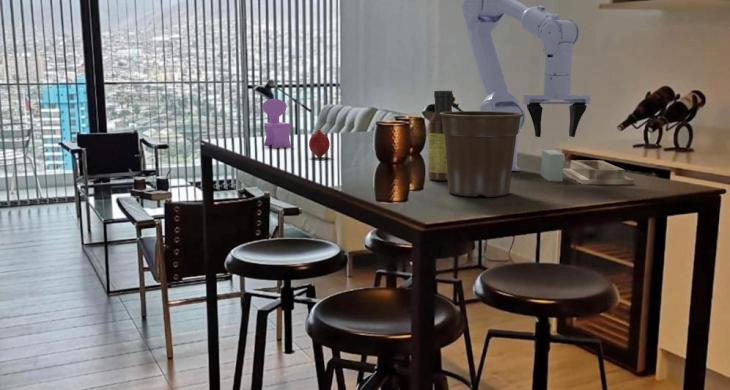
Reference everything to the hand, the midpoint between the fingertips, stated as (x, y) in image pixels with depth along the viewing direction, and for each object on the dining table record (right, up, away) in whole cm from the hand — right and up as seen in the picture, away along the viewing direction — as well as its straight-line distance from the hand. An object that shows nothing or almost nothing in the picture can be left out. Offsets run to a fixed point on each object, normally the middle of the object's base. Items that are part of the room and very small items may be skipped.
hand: (554, 136), depth 160 cm
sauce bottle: (-25, -10, 0) cm, 27 cm away
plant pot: (-20, -13, -17) cm, 29 cm away
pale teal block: (0, -9, +1) cm, 10 cm away
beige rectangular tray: (+10, -9, +1) cm, 13 cm away
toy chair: (-71, +2, +68) cm, 98 cm away
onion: (-56, -3, +39) cm, 68 cm away
